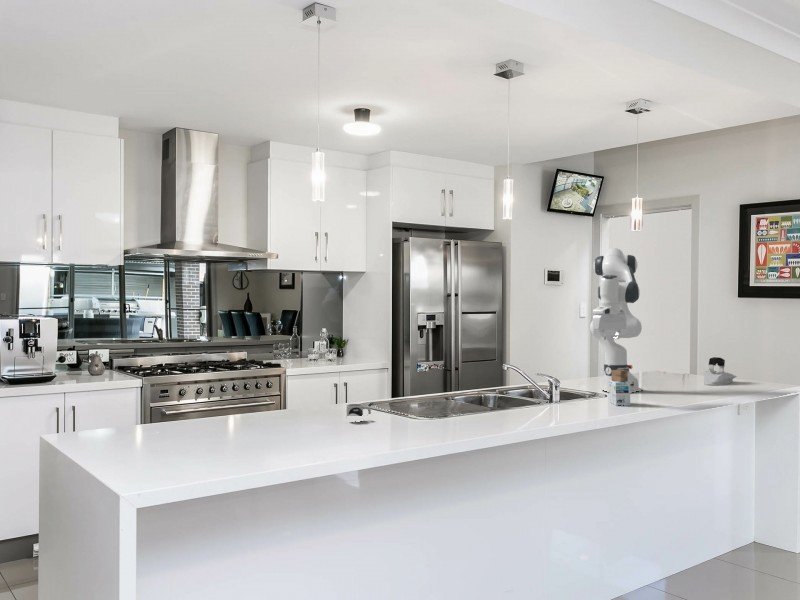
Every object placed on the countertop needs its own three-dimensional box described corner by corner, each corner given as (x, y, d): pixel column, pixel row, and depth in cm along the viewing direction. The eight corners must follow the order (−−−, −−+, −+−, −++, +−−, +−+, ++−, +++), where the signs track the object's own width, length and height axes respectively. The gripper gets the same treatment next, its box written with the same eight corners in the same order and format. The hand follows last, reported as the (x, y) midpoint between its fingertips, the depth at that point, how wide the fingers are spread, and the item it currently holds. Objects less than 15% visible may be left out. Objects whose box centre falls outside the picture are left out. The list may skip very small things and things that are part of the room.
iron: (737, 382, 397) (736, 356, 397) (719, 386, 381) (719, 359, 381) (717, 381, 405) (717, 355, 405) (700, 384, 389) (699, 358, 389)
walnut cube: (618, 380, 322) (618, 369, 322) (627, 381, 318) (627, 370, 318) (611, 381, 319) (611, 370, 319) (620, 381, 315) (620, 370, 315)
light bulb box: (630, 406, 313) (630, 382, 313) (615, 406, 314) (615, 382, 314) (623, 402, 324) (623, 379, 324) (609, 402, 324) (608, 379, 324)
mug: (348, 423, 276) (348, 406, 276) (345, 420, 283) (345, 404, 283) (372, 421, 279) (372, 405, 279) (369, 419, 285) (368, 403, 285)
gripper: (618, 309, 331) (619, 338, 331) (590, 310, 320) (590, 340, 320) (629, 309, 326) (630, 338, 326) (600, 310, 314) (601, 341, 315)
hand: (610, 339), depth 323 cm, fingers open, 8 cm apart
